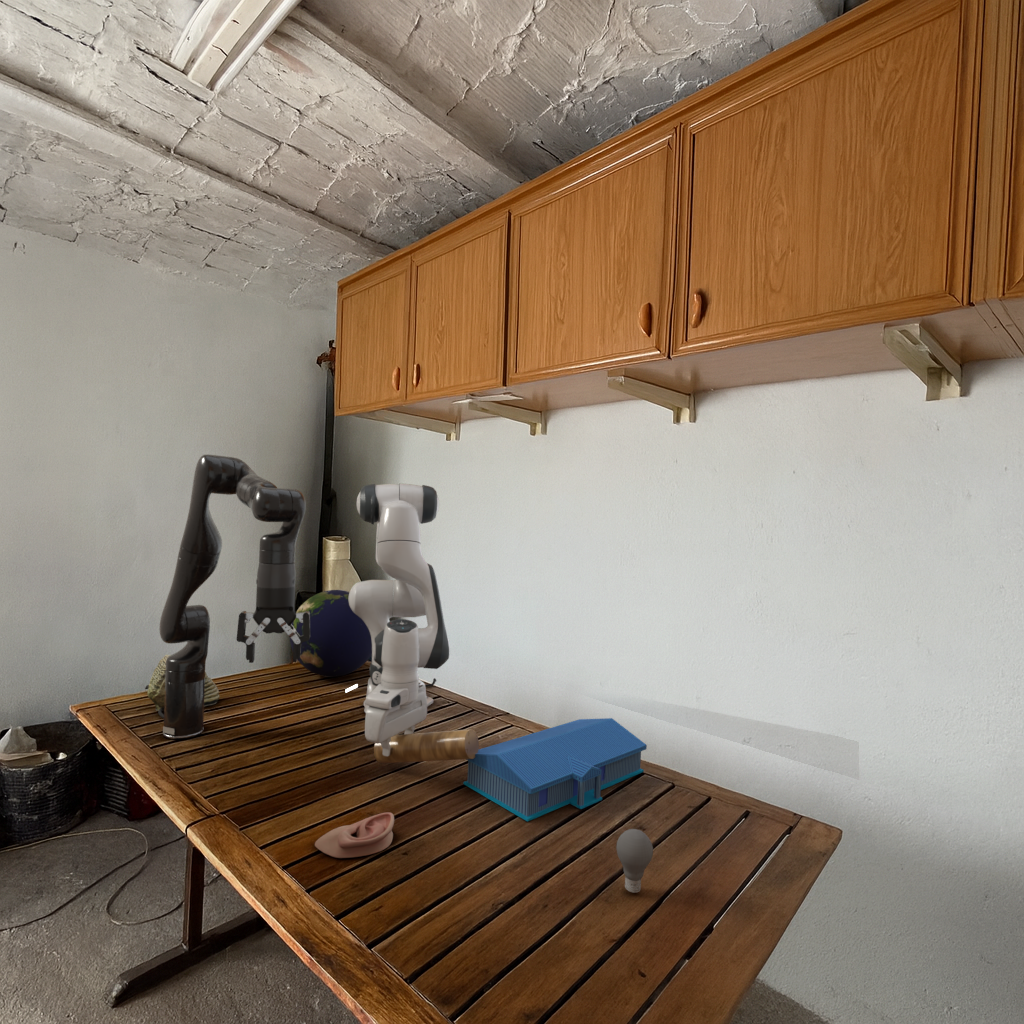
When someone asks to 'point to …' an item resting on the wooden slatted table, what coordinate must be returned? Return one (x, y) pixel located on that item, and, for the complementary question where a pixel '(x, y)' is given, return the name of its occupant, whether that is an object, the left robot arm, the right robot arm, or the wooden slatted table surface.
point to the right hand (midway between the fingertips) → (396, 749)
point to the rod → (430, 747)
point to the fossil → (158, 687)
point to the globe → (333, 635)
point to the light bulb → (634, 857)
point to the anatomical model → (358, 837)
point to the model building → (556, 766)
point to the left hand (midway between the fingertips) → (273, 661)
